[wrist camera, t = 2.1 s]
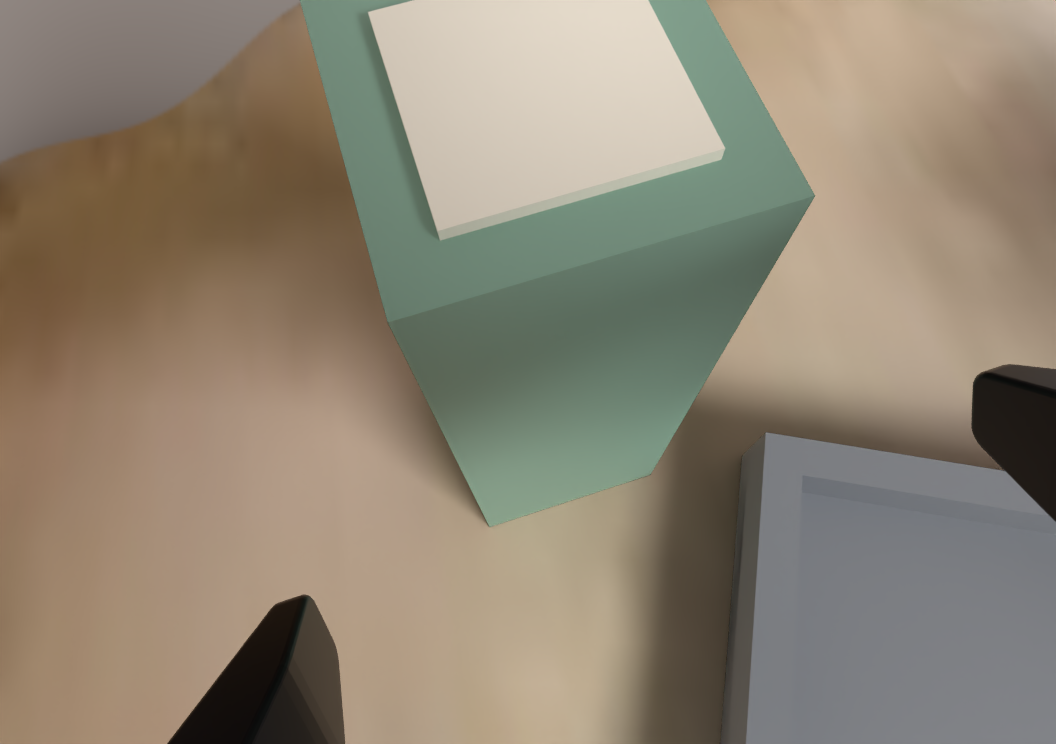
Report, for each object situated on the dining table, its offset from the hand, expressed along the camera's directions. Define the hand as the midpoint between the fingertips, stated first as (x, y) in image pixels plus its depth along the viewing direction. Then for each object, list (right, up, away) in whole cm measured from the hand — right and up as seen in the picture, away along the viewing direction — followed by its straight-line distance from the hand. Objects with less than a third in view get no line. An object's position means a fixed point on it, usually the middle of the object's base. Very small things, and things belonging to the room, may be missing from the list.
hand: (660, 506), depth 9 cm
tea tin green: (-1, 0, +13) cm, 13 cm away
